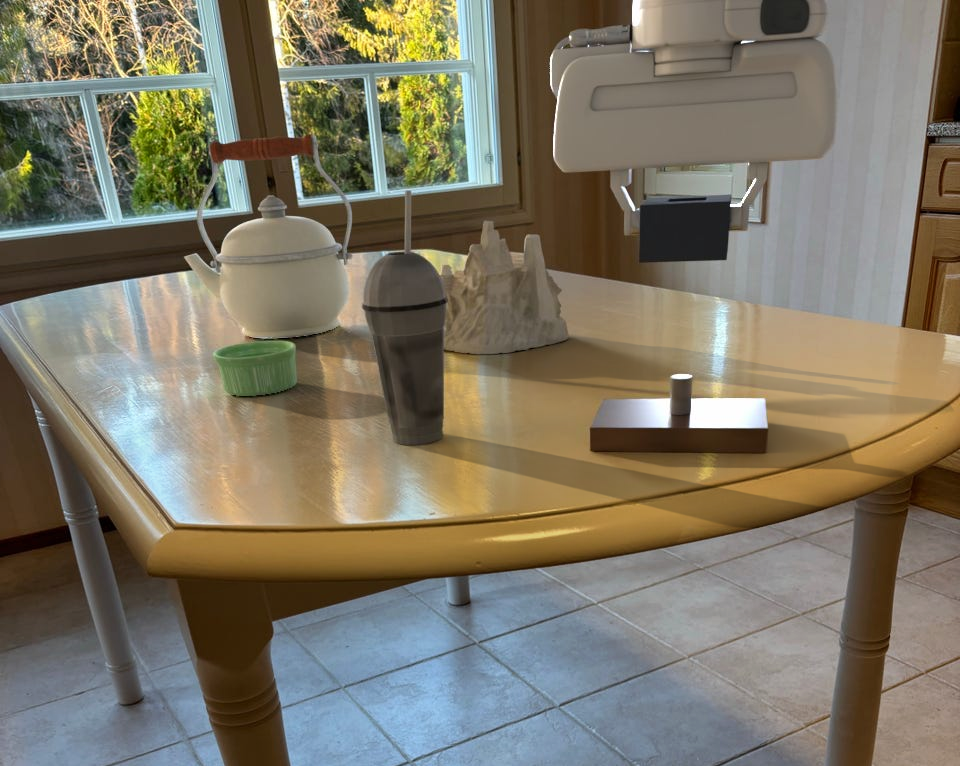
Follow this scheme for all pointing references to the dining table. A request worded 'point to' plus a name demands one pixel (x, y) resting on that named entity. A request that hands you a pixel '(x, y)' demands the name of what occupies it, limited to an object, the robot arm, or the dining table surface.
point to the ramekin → (257, 367)
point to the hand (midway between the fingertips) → (686, 232)
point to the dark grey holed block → (684, 228)
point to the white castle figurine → (501, 299)
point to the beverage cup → (408, 339)
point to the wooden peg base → (680, 423)
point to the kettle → (276, 255)
